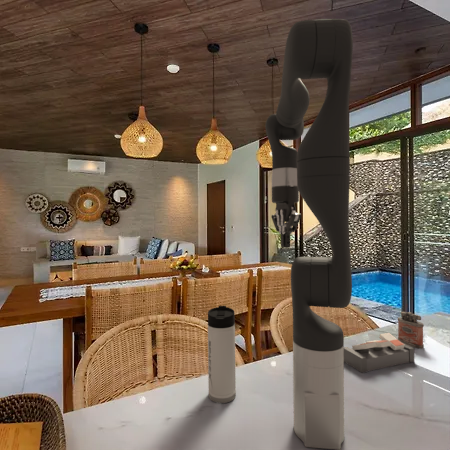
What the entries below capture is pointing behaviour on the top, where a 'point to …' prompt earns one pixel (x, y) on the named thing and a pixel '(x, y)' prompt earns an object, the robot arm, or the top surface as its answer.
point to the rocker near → (364, 346)
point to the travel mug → (221, 354)
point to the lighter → (410, 330)
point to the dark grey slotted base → (377, 357)
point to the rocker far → (392, 341)
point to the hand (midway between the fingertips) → (285, 247)
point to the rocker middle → (381, 343)
